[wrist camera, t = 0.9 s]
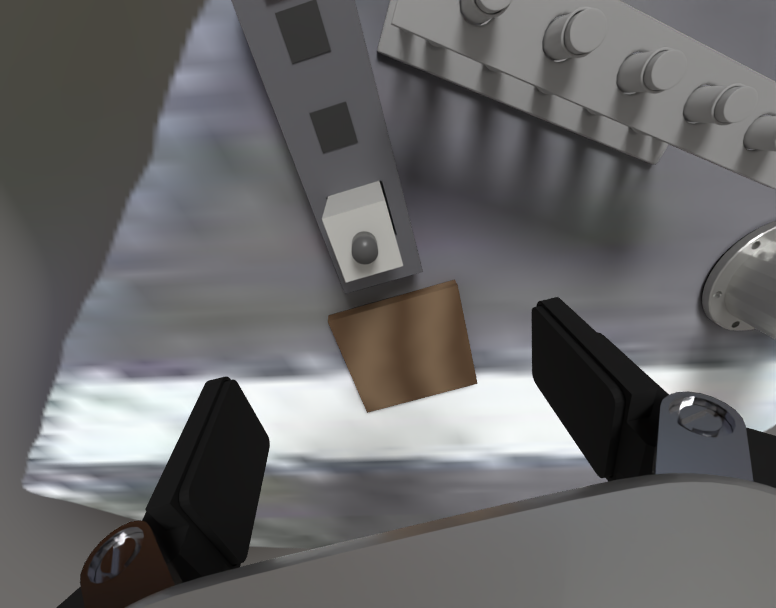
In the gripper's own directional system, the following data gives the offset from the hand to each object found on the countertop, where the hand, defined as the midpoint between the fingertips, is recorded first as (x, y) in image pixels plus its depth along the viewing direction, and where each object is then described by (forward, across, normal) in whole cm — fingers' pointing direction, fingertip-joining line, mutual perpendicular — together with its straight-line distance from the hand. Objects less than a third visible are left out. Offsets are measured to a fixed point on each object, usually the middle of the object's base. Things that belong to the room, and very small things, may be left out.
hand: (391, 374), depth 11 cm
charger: (+22, 0, +1) cm, 22 cm away
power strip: (+23, 0, -4) cm, 23 cm away
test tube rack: (+23, -16, -5) cm, 28 cm away
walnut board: (+22, -1, +17) cm, 28 cm away
